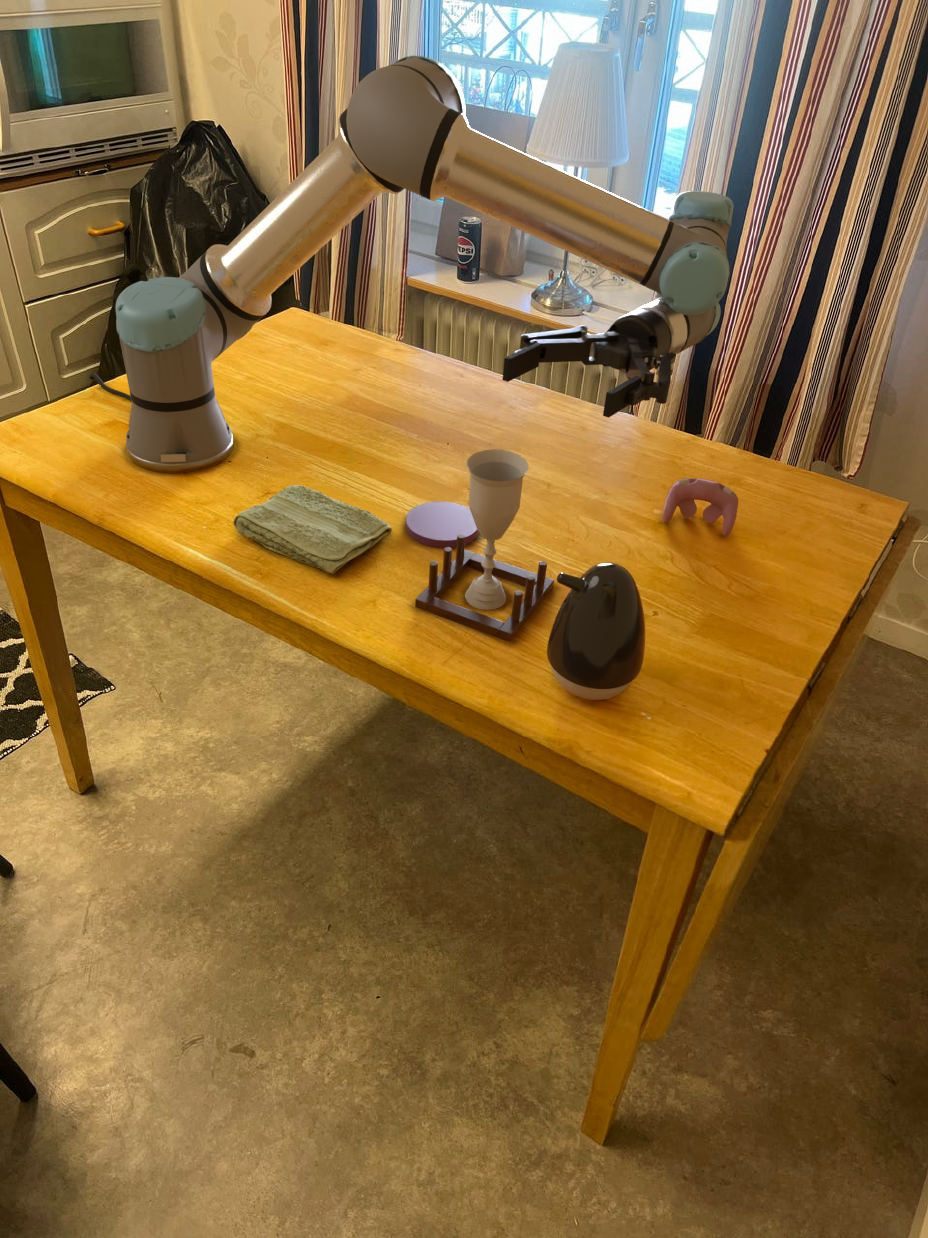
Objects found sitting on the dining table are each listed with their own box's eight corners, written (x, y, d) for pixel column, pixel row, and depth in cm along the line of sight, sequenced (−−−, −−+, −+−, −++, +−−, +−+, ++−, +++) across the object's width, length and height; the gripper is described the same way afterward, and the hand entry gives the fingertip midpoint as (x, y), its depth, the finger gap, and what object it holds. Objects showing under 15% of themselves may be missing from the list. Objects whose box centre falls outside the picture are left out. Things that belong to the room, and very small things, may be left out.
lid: (391, 533, 118) (391, 525, 117) (428, 501, 125) (428, 494, 124) (457, 556, 115) (458, 548, 114) (491, 521, 122) (492, 514, 121)
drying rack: (414, 607, 106) (416, 572, 103) (463, 556, 115) (466, 523, 112) (510, 642, 101) (514, 607, 98) (553, 587, 110) (558, 554, 107)
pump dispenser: (534, 652, 100) (550, 538, 91) (624, 651, 101) (649, 539, 92) (548, 715, 92) (567, 598, 83) (646, 714, 93) (675, 598, 84)
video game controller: (730, 535, 126) (743, 486, 124) (731, 537, 121) (744, 487, 120) (661, 520, 128) (673, 472, 126) (659, 522, 123) (671, 472, 122)
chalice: (508, 619, 105) (523, 485, 94) (452, 609, 106) (460, 475, 95) (517, 584, 110) (533, 454, 99) (464, 575, 111) (473, 445, 100)
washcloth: (334, 583, 108) (333, 561, 106) (228, 534, 115) (225, 513, 113) (397, 537, 117) (397, 516, 115) (295, 494, 124) (294, 474, 122)
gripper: (728, 395, 110) (647, 453, 96) (559, 341, 121) (465, 386, 108) (743, 335, 105) (660, 387, 92) (566, 285, 117) (469, 324, 103)
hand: (555, 387), depth 100 cm, fingers open, 13 cm apart
